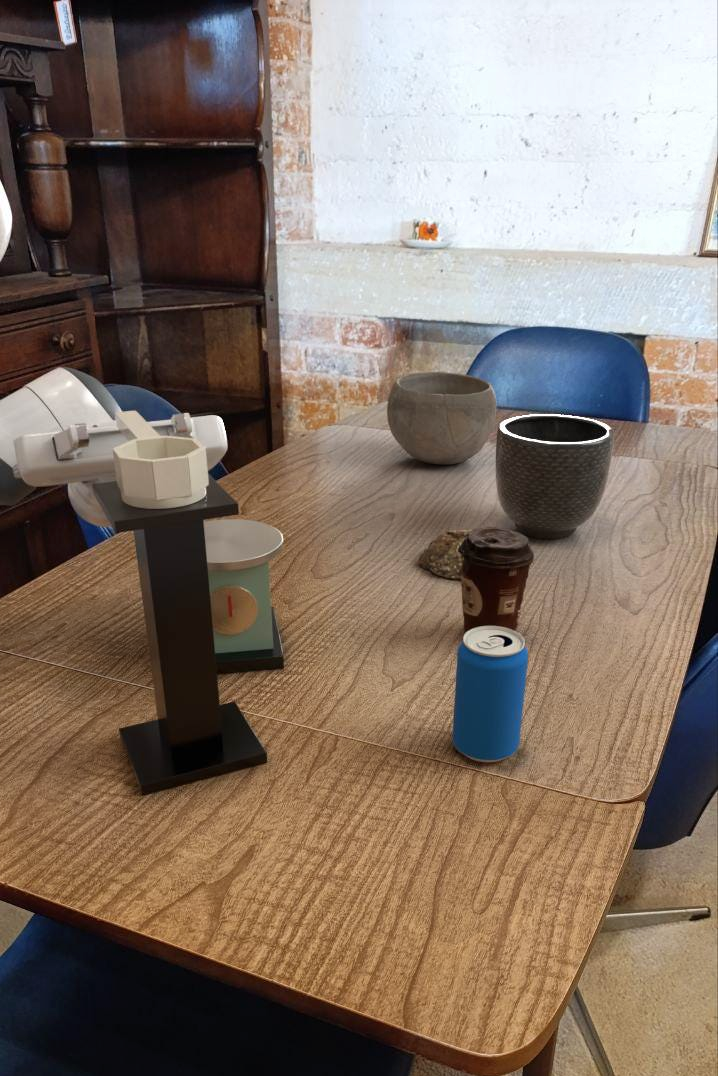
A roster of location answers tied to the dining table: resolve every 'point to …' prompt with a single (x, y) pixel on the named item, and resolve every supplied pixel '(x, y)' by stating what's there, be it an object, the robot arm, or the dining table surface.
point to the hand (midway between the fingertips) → (132, 426)
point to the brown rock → (444, 554)
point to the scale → (243, 594)
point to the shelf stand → (180, 647)
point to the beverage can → (489, 693)
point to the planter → (552, 472)
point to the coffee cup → (493, 577)
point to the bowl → (441, 415)
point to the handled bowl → (158, 466)
